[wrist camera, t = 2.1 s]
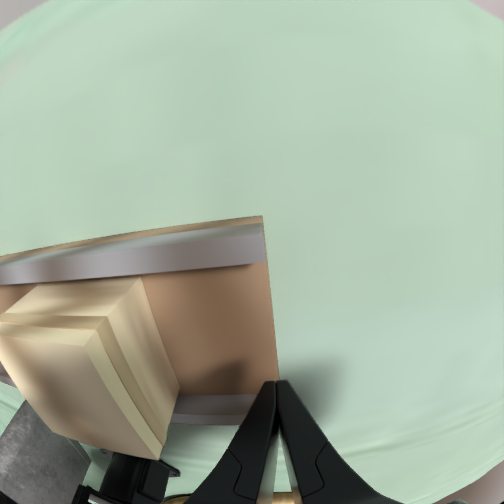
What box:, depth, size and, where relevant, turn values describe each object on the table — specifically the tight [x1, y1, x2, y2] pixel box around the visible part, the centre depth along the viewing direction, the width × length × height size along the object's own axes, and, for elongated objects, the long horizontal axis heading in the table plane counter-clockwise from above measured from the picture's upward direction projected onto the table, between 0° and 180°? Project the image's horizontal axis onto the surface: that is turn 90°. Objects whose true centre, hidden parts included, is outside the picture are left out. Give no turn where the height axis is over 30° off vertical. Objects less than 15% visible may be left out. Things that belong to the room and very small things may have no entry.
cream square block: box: [0, 276, 180, 460], centre depth 11 cm, size 7×7×5 cm
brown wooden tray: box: [0, 216, 279, 425], centre depth 13 cm, size 30×10×4 cm, turn 97°
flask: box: [0, 399, 91, 504], centre depth 12 cm, size 4×14×18 cm, turn 0°
